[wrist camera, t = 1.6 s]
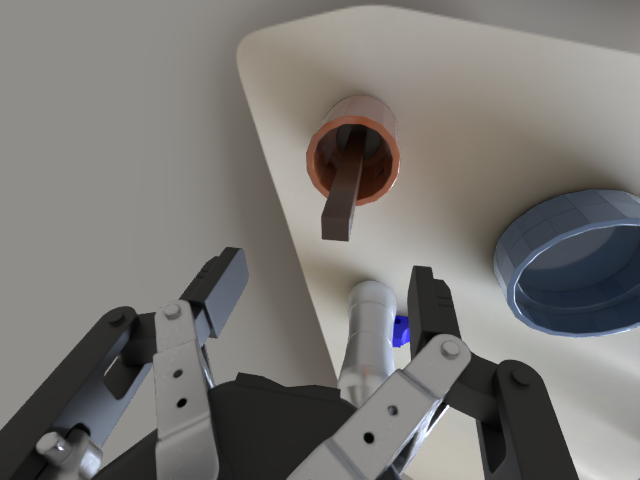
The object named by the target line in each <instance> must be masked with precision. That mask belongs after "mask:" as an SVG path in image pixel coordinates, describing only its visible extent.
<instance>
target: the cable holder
mask: <svg viewBox="0 0 640 480" xmlns="http://www.w3.org/2000/svg"><path fill="white" fill-rule="evenodd" d="M407 342H410V336H409V320H408V317H404V316H395V321H394V325H393V338H392V345H393V347H401V345H404V344H405V343H407Z"/></svg>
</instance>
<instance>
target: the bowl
mask: <svg viewBox="0 0 640 480" xmlns="http://www.w3.org/2000/svg"><path fill="white" fill-rule="evenodd" d="M493 265H494V272H495V275H496V277H497V280H498V282H499V284H500V287H501V289H502V291H503V294H504V296H505V299H506V301H507V303H508V305H509V307H510V309H511V310H512V312H513V314H514V315H515V317H516V318H518V319H519V320H520V321H522V322H523V323H524V324H526V325H527V326H528V327H530V328H533V329H535V330H538V331H541V332H544V333H547V334H550V335H557V336H565V337H573V338H579V337H598V336H605V335H609V334H614V333H619V332H623V331H628V330H631V329H634V328H637V327H639V326H640V197H638V196H635V195H632V194H629V193H627V192H624V191H618V190H599V189H593V190H592V189H591V190H585V191H580V192H574V193H569V194H564V195H560V196H558V197H555V198H553V199H551V200H548V201H546V202H543V203H541V204H539V205H536V206H534V207H533V208H532V209H530V210H529V211H527V212H526V213H525V214H523V215H522V216H520V217H519V218H517V219H516V220H515V221H513V223H512V224H511V225H510V226H509V227H508V228H507V230H506V231H505V232H504V233H503V234H502V236H501V237H500V238H499V241H498V243H497V246H496V248H495V251H494V254H493Z"/></svg>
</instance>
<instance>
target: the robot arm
mask: <svg viewBox="0 0 640 480" xmlns="http://www.w3.org/2000/svg"><path fill="white" fill-rule="evenodd" d="M247 281H248V269H247V264H246V259H245V254H244V251H243V249H242V248H232V247H226V248H225V249H224V250H223V252H222V253H221V255H220V256H219V257H218V256H215V257H214V258H212V259H211V260H209V261H208V262H206V264H205V265H204V266H203V268H202V269H201V271H200V272H199V273H198V274H197V276H196V278H194V280H193V281H192V282H191V283H190V285H189V286H188V287H187V289H186V290H185V291H184V293H183V294H182V295H181V297H180V298H179V299H178V300H174V301H170V302H168V303H166V304H164V305H163V306H161V307H160V308H159V309H158V311H157V312H153V313H146V314H139V315H137V313H136V312H135V310H134V309H133V308H131V307H128V306H123V307H118V308H115V309H113V310H111V311H109V312H107V313H106V314H105V315H103V316H102V317H101V318H100V320H99V321H98V322H97V323H96V324H95V325H94V326H93V327H92V329H91V330H90V331H89V332H88V333H87V334H86V335H85V337H84V338H83V339H82V340H81V341H80V342H79V343H78V344H77V345H76V347H75V348H74V349H73V350H72V351H71V352H70V353H69V354H68V356H67V357H66V358H65V359H64V360H63V361H62V362H61V363H60V364H59V366H58V367H57V368H56V369H55V370H54V371H53V373H51V375H50V376H49V377H48V378H47V379H46V380H45V381H44V382H43V383H42V385H41V386H40V387H39V388H38V389H37V390H36V391H35V392H34V394H33V395H32V396H31V397H30V398H29V399H28V400H27V401H26V403H25V404H24V405H23V406H22V407H21V408H20V409H19V410H18V412H17V413H16V414H15V415H14V416H13V417H12V418H11V420H9V422H8V423H7V424H6V425H5V426H4V427H3V428H2V429H1V431H0V480H402V479H401V478H400V476H401V474H402V473H403V472H404V470H405V469H406V467H407V466H408V465H409V463H410V462H411V461H412V459H413V458H414V456H415V455H416V453H417V452H418V450H419V448H420V446H421V445H422V443H423V441H424V440H425V438H426V437H427V435H428V434H429V433H430V431H431V430H432V429H433V427H434V426H435V425H436V423H437V422H438V420H439V419H440V418H441V416H442V415H443V414H444V412H445V411H446V410H447V408H448V407H449V406H450V407H452V408H454V409H456V410H458V411H460V412H463V413H465V414H467V415H469V416H471V417H473V418H475V420H476V426H477V432H478V439H479V445H480V451H481V458H482V464H483V471H484V477H485V480H579V478H578V475H577V472H576V470H575V467H574V464H573V461H572V458H571V456H570V453H569V450H568V447H567V445H566V442H565V439H564V436H563V434H562V431H561V428H560V425H559V422H558V420H557V417H556V414H555V411H554V409H553V406H552V403H551V400H550V398H549V395H548V392H547V389H546V387H545V384H544V381H543V379H542V378H541V376H540V375H539V374H538V373H537V372H536V371H535V370H534V369H533V368H531V367H530V366H528V365H527V364H525V363H523V362H520V361H517V360H504V361H502V362H501V363H500V364H499V365H498V364H496V363H493V362H491V361H488V360H486V359H483V358H481V357H479V356H477V355H475V354H474V353H473V352H471V351H470V349H469V347H468V346H467V345H466V343H465V342H463V341H462V339H461V335H460V331H459V326H458V322H457V318H456V313H455V309H454V304H453V300H452V296H451V291H450V288H449V287H448V286H447V284H446V283H445V282H444V281H443V280H439V279H433V273H432V268H431V267H426V266H415V265H414V266H413V269H412V274H411V279H410V284H409V289H408V298H407V305H408V320H409V336H410V351H411V362H410V363H409V364H408V365H407V366H406V367H405V368H404V369H403V370H401V369H397V370H395V371H394V372H393V373H392V374H391V375H390V376H389V377H388V378H387V379H386V380H385V381H384V383H383V384H382V385H381V386H380V387H379V388H378V389H377V390H376V391H375V392H374V393H373V394H372V395H371V396H370V397H369V398H368V399H367V400H366V401H365V402H364V403H363V404H362V406H361V407H360V408H359V409H358V408H357V407H355V406H354V405H353V404H352V403H350V402H348V401H347V400H345V399H343V398H341V389H337V388H331V387H325V386H318V385H307V386H296V387H284V386H282V385H280V384H278V383H276V382H274V381H272V380H270V379H267V378H265V377H263V376H258V375H252V374H245V373H240V372H239V373H238V375H237V377H236V380H235V381H229V382H225V383H222V384H219V385H217V386H215V382H214V379H213V375H212V370H211V367H210V362H209V358H208V353H207V349H206V346H205V342H206V340H207V338H208V337H210V338H218V336H219V334H220V333H221V331H222V329H223V327H224V325H225V324H226V322H227V320H228V318H229V316H230V314H231V312H232V311H233V309H234V307H235V305H236V303H237V301H238V299H239V298H240V296H241V294H242V292H243V290H244V288H245V286H246V284H247ZM116 357H118V359H117V360H116V361H115V363H114V364H113V365H112V367H111V368H110V369H109V371H108V372H107V373H106V375H105V376H104V374H105V371H106V370H107V369H108V367H109V366H110V365H111V363H112V362H113V361H114V359H115V358H116ZM152 365H153V368H154V383H155V399H156V414H157V429H155V430H154V431H152V432H151V433H150V434H148V435H147V436H146V437H144V438H143V439H142V440H140V441H139V442H138V443H136V444H135V445H134V446H132V447H131V448H130V449H128V450H127V451H126V452H124V453H123V454H121V455H120V456H119V457H117V458H116V459H115V460H113V461H112V462H111V463H109V464H108V465H107V466H105V467H104V468H103V469H101V470H100V471H99V466H100V464H101V461H102V456H103V455H102V454H103V452H102V449H101V448H102V446H103V445H104V443H105V441H106V440H107V438H108V437H109V435H110V433H111V432H112V430H113V429H114V427H115V425H116V424H117V422H118V420H119V419H120V417H121V416H122V414H123V412H124V411H125V409H126V408H127V406H128V404H129V403H130V401H131V399H132V398H133V396H134V395H135V393H136V391H137V390H138V388H139V386H140V385H141V383H142V382H143V380H144V378H145V376H146V375H147V374H148V372H149V370H150V369H151V367H152ZM103 377H104V378H103Z"/></svg>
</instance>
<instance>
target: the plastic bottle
mask: <svg viewBox="0 0 640 480" xmlns="http://www.w3.org/2000/svg"><path fill="white" fill-rule="evenodd" d="M396 309H397V306H396V301H395V297H394V294H393V293H392V291H391V290H390V289H389V288H388V287H387V286H385V285H384V284H382V283H380V282H377V281H364V282H361V283H360V284H358V285H356V286H355V287H354V288H353V289H352V291H351V293H350V296H349V299H348V314H349V337H348V344H347V348H346V354H345V358H344V362H343V365H342V369H341V372H340V376H339V379H338V385H337V389H341V398H343V399H345V400H347V401H348V402H350V403H352V404H353V405H354V406H355V407H357V408H358V409H359V408H360V407H361V406H362V404H363V403H364V402H365V401H366V400H367V399H368V398H369V397H370V396H371V395H372V394H373V393H374V392H375V391H376V390H377V389H378V388H379V387H380V386H381V385H382V384H383V383H384V381H385V380H386V379H387V378H388V377H389V376H390V375H391V374H392V373H393V372H394V371H395V367H394V358H393V345H392V338H393V325H394V321H395V316H396Z"/></svg>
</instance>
